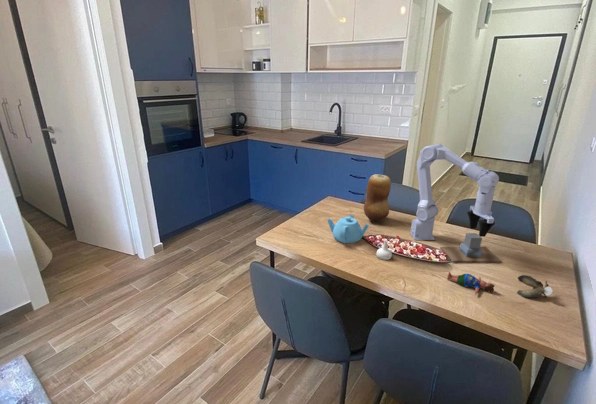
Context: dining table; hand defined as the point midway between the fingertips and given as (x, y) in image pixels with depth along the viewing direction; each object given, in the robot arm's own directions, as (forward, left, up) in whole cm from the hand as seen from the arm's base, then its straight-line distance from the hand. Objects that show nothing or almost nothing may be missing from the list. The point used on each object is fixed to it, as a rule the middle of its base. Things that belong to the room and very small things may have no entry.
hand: (477, 232), depth 133 cm
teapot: (-52, +16, -11) cm, 55 cm away
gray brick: (-2, -1, -6) cm, 6 cm away
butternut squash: (-34, +37, -11) cm, 51 cm away
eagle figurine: (+6, -28, -11) cm, 31 cm away
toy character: (-13, -23, -11) cm, 29 cm away
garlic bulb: (-39, -2, -11) cm, 41 cm away
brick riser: (-2, -1, -10) cm, 11 cm away
